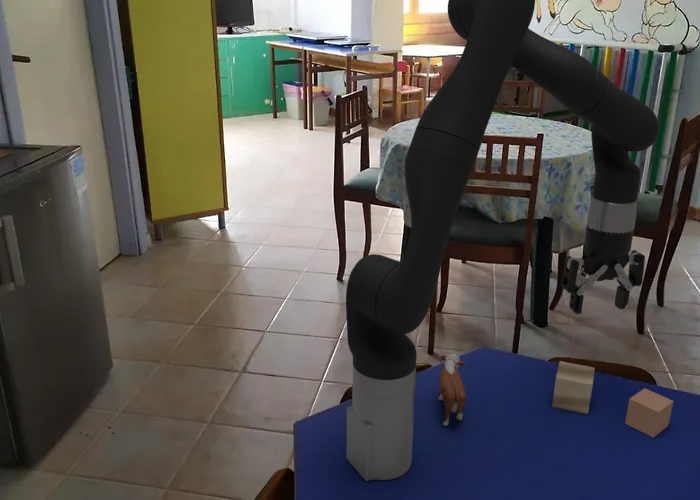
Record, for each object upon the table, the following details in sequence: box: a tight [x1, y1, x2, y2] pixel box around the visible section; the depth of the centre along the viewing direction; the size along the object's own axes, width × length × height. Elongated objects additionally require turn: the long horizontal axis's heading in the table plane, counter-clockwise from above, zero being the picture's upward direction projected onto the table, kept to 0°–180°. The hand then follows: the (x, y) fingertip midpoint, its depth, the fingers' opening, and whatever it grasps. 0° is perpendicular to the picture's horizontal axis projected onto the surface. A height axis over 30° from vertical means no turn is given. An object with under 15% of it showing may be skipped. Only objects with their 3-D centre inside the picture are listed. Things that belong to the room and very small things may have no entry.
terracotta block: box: [624, 387, 674, 438], centre depth 113 cm, size 5×5×5 cm
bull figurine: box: [438, 353, 467, 427], centre depth 116 cm, size 4×13×8 cm, turn 174°
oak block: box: [551, 360, 596, 416], centre depth 118 cm, size 6×6×6 cm
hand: (597, 309), depth 119 cm, fingers open, 8 cm apart
